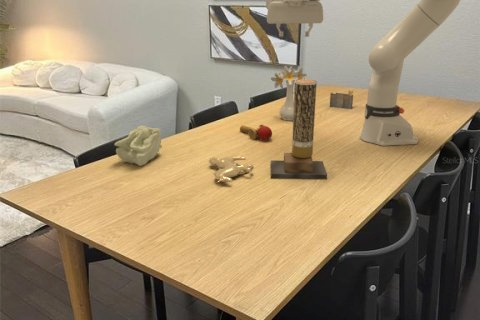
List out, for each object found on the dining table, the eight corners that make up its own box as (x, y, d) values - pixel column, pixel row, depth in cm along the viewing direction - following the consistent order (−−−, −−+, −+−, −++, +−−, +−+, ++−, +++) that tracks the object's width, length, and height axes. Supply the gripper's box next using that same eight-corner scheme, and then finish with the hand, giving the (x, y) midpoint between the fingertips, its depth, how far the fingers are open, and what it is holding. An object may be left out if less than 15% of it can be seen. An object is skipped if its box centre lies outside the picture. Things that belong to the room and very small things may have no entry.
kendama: (234, 137, 179) (261, 141, 165) (235, 122, 178) (262, 126, 164) (248, 136, 184) (275, 141, 170) (249, 122, 183) (276, 125, 169)
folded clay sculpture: (142, 183, 148) (129, 154, 136) (119, 166, 154) (105, 137, 142) (177, 152, 156) (169, 123, 145) (154, 137, 162) (144, 108, 151)
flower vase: (267, 121, 196) (267, 68, 187) (287, 113, 209) (288, 62, 200) (291, 126, 188) (293, 70, 179) (310, 117, 202) (312, 65, 193)
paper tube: (313, 153, 141) (318, 79, 132) (310, 160, 135) (315, 83, 126) (293, 151, 143) (296, 78, 134) (290, 158, 137) (292, 82, 128)
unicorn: (232, 159, 151) (189, 168, 142) (232, 148, 149) (189, 157, 141) (264, 178, 135) (218, 190, 127) (264, 167, 134) (218, 178, 125)
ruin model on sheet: (352, 108, 218) (353, 90, 215) (350, 110, 216) (352, 91, 212) (331, 106, 223) (332, 88, 220) (329, 107, 221) (330, 89, 217)
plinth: (322, 165, 144) (323, 151, 143) (326, 179, 133) (327, 164, 131) (270, 164, 146) (270, 151, 144) (270, 178, 134) (271, 163, 133)
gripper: (266, -4, 145) (265, 37, 150) (325, -5, 144) (322, 37, 149) (266, -4, 151) (265, 36, 156) (322, -5, 150) (320, 35, 155)
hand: (294, 36), depth 152 cm, fingers open, 8 cm apart
